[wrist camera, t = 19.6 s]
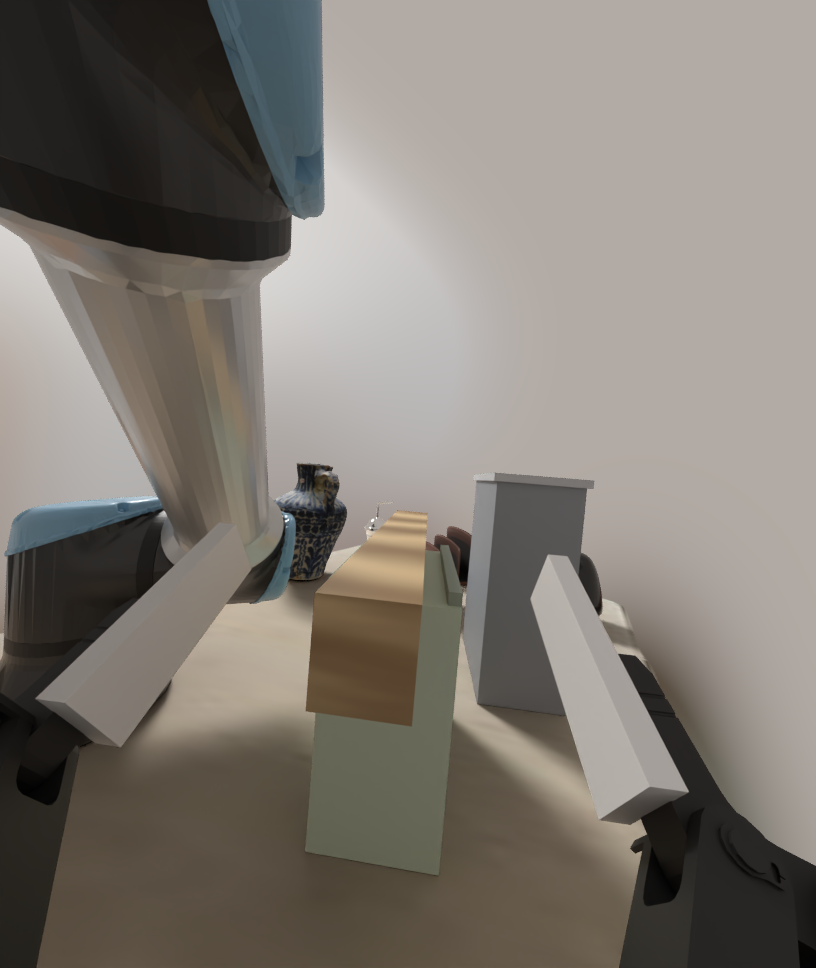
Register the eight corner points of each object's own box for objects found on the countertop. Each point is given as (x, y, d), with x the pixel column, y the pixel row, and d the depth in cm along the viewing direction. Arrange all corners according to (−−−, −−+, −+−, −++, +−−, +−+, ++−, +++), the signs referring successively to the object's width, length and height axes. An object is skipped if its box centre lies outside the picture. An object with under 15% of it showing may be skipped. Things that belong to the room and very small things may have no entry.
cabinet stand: (570, 719, 36) (594, 480, 35) (473, 706, 37) (495, 472, 36) (525, 642, 53) (540, 480, 52) (459, 634, 54) (473, 474, 53)
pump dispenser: (545, 623, 62) (552, 552, 61) (548, 605, 71) (554, 544, 70) (603, 639, 57) (610, 562, 56) (598, 618, 66) (604, 552, 65)
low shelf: (438, 875, 21) (463, 596, 20) (305, 851, 22) (325, 580, 21) (434, 703, 37) (448, 544, 36) (357, 693, 38) (370, 536, 37)
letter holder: (446, 563, 100) (450, 523, 99) (474, 586, 81) (478, 535, 80) (419, 563, 97) (422, 522, 97) (440, 586, 78) (445, 534, 78)
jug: (250, 573, 75) (258, 459, 75) (312, 559, 92) (319, 465, 91) (298, 597, 64) (308, 462, 63) (359, 576, 80) (368, 468, 79)
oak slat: (411, 726, 11) (422, 605, 10) (305, 711, 11) (314, 592, 11) (424, 546, 38) (427, 513, 38) (394, 543, 39) (397, 510, 39)
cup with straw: (370, 552, 106) (374, 497, 105) (392, 557, 102) (396, 500, 101) (356, 557, 98) (361, 498, 97) (379, 562, 94) (384, 501, 94)
